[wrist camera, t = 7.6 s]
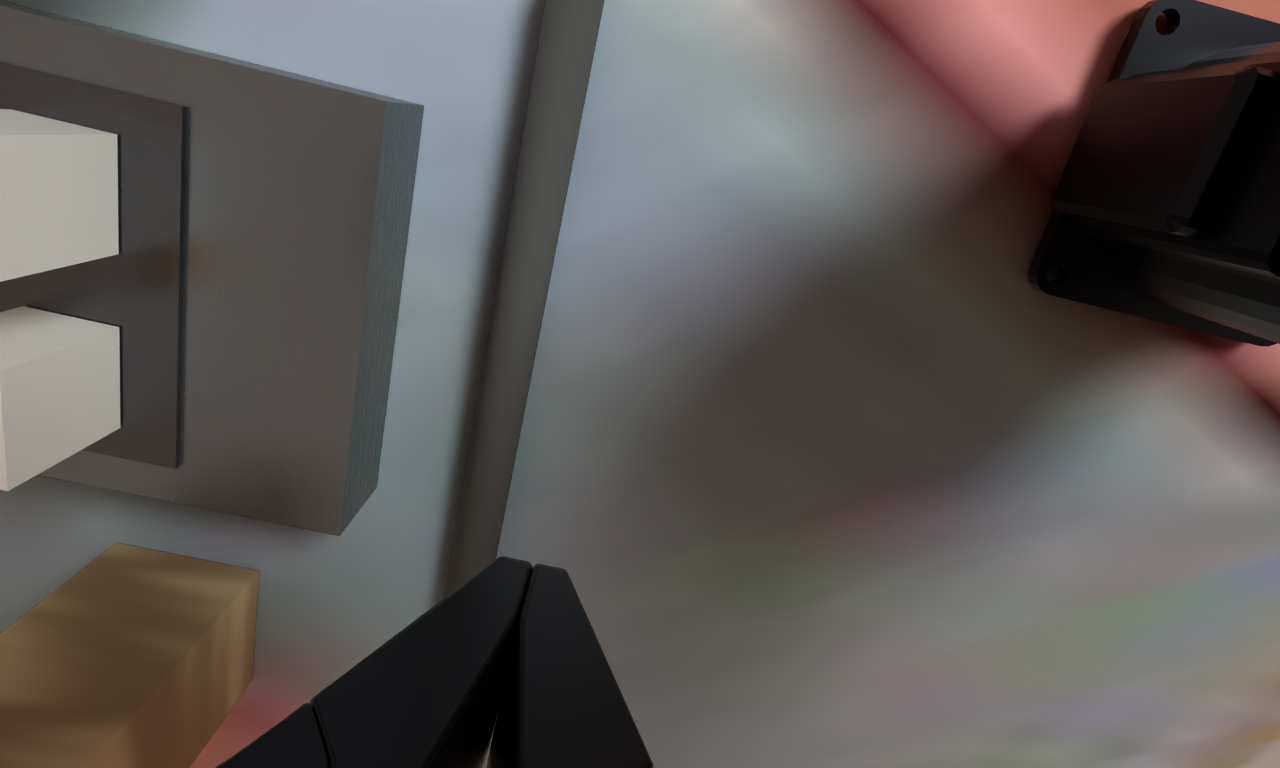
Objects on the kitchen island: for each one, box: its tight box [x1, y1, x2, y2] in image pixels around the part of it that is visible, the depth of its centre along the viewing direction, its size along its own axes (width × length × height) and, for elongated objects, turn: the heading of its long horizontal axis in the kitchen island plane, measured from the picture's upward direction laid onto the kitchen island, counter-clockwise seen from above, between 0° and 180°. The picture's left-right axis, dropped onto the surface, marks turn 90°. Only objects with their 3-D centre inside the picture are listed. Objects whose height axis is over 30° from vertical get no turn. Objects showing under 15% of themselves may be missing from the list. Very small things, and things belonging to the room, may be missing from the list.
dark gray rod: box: [444, 0, 604, 598], centre depth 18 cm, size 1×17×1 cm, turn 167°
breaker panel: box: [0, 1, 424, 536], centre depth 16 cm, size 12×10×3 cm
